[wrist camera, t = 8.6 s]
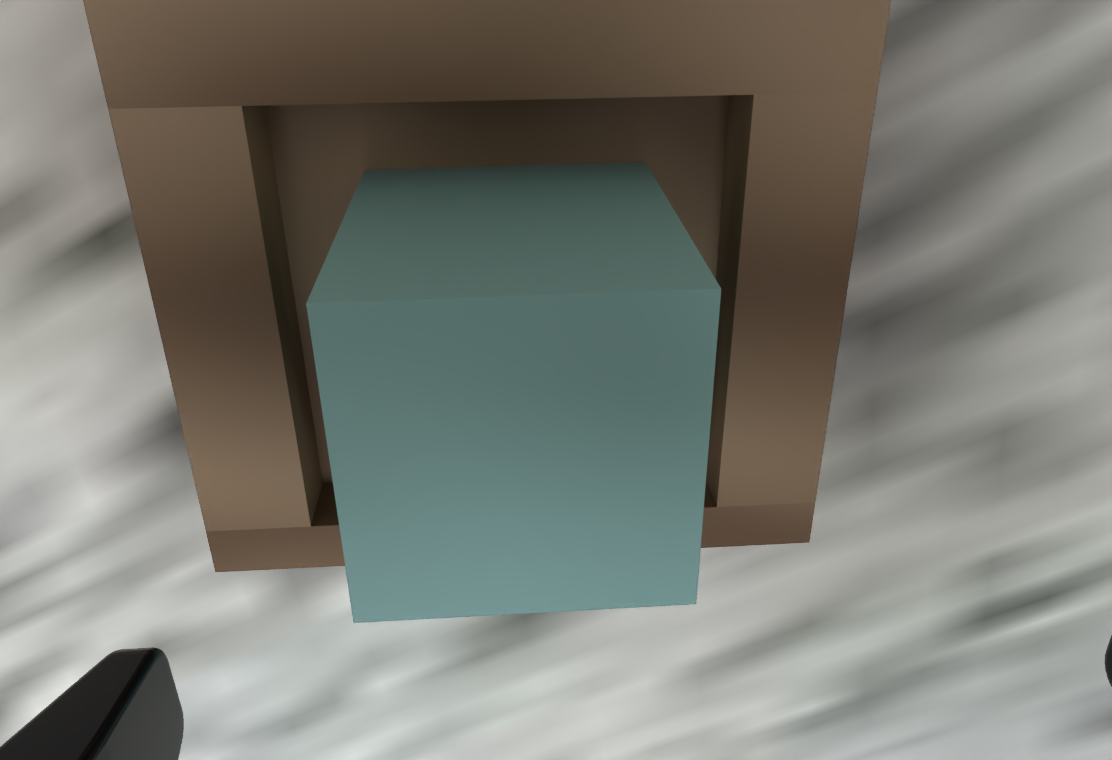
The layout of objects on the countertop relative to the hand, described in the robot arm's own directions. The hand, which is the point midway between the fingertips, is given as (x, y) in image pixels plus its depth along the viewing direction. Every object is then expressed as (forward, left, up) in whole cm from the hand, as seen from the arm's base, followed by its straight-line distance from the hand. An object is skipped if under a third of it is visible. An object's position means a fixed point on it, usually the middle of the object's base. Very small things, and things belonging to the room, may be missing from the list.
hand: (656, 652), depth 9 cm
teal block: (0, +1, -10) cm, 10 cm away
